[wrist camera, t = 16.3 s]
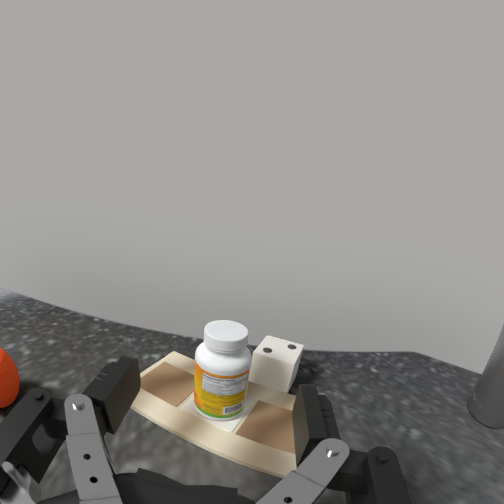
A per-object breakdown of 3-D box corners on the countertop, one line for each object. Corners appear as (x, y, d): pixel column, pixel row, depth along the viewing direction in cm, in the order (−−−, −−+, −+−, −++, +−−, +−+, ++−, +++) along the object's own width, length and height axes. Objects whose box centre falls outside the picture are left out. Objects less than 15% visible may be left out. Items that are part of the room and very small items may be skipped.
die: (296, 375, 35) (304, 344, 34) (285, 396, 30) (294, 363, 29) (262, 365, 36) (267, 334, 35) (247, 384, 32) (253, 351, 31)
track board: (319, 405, 28) (320, 401, 28) (291, 480, 18) (293, 477, 17) (173, 354, 36) (173, 350, 35) (112, 395, 25) (111, 391, 24)
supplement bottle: (203, 385, 29) (208, 312, 27) (248, 396, 28) (260, 323, 26) (186, 413, 24) (187, 335, 22) (237, 428, 23) (249, 350, 21)
